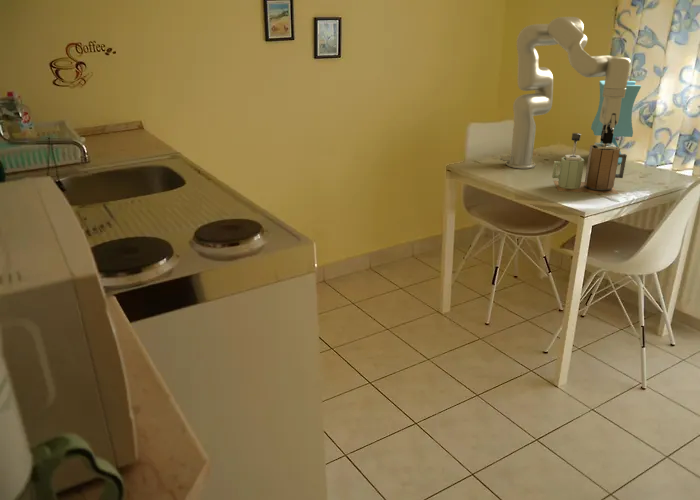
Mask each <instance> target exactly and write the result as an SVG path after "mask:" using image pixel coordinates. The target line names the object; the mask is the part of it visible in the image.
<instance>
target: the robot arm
mask: <svg viewBox="0 0 700 500" xmlns="http://www.w3.org/2000/svg"><path fill="white" fill-rule="evenodd" d="M584 25H585V24H584V23H583V21H582V20H581V19H580V18H579V17H577V16H560V17H556V18H554V19H552V20H551V21H550V22H549V23H534V24H530V25H526V26H525V27H524V28H522V29H521V30H520V32H519V34H518V35H517V38H516V49H517V58H518V59H517V86H518V89H519V90H520V91H524V92H528V91H529V92H530V91H534V93H526V94H522V95H519V96H517V97H516V98H515V99H514V101H513V104H512V105H513V106H512V107H513V108H512V110H513V128H512V140H511V149H510V153H509V155H500V156H499V160H500V161H503V162H505V161H506V166H507V167H509V168H513V169H519V170H520V169H521V170H523V169H533V168H534V167H535V166H536V163H535V162H533V156H534V155H533V154H534V146H535V139H536V129H537V127H536V121H535V119H534V117H536V116H543V115H545V114H548V113H549V112H550V111H551V109H552V106H553V97H554V96H553V95H554V76H553V73H552V71H551V69H549V68H548V67H546V66H540V65H539V63H540V62H539V61H540V56H539V53H538V50H537V49H536V47H541V46H544V47H545V46H546V47H547V46H556V45H559V46H560V47H561V48H562V49H563V50H564V51H565V52H566V53H567V58H568V62H569V64H570V66H571V68H573V70H575V71H576V72H577V73H578V74H579V75H581V76H582V77H585V78H597V77H605V79H604V81H605V84H604V90H603V97H604V100H603V104H602V108H601V113H600V118H599V120H600V122H601V123H602V124H603V128H602V133H603V130H605V133H604V137H603V139H602V133H601V136H600V138H599V139H600V142H601V141H603V144H611V143H612V139H613V133H614V128H615V125H617V124H618V120H619V115H620V108H621V100H622V98H624V97H625V92H626V86H627V81H629V73H630V68H631V59H630V58H629V57H625V56H623V57H622V56H620V57H619V56H617V57H616V56H614V55H609V54H608V55H590V54H589V53H587V52H586V50H584V48H585V47H586V45H587V43H588V37H587V35H586V34H585V33H583V32H584V27H585V26H584Z"/></svg>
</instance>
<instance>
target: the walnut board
mask: <svg viewBox="0 0 700 500" xmlns="http://www.w3.org/2000/svg"><path fill="white" fill-rule="evenodd" d="M553 184H554V185H555V188H556V190H557V191H558V192H569V193H572V192H573V193H594V194H611V195H613V194H615V195H616V194H617V195H619V192H618V191H617V190H616V188H615V187H614V186H613V188H612V190H610V191H593V190H589V189H587V188H585V181H581V185H580V188H578V189H564V188H561V187H559V186H558V184H559V183H558V180H553Z"/></svg>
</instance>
